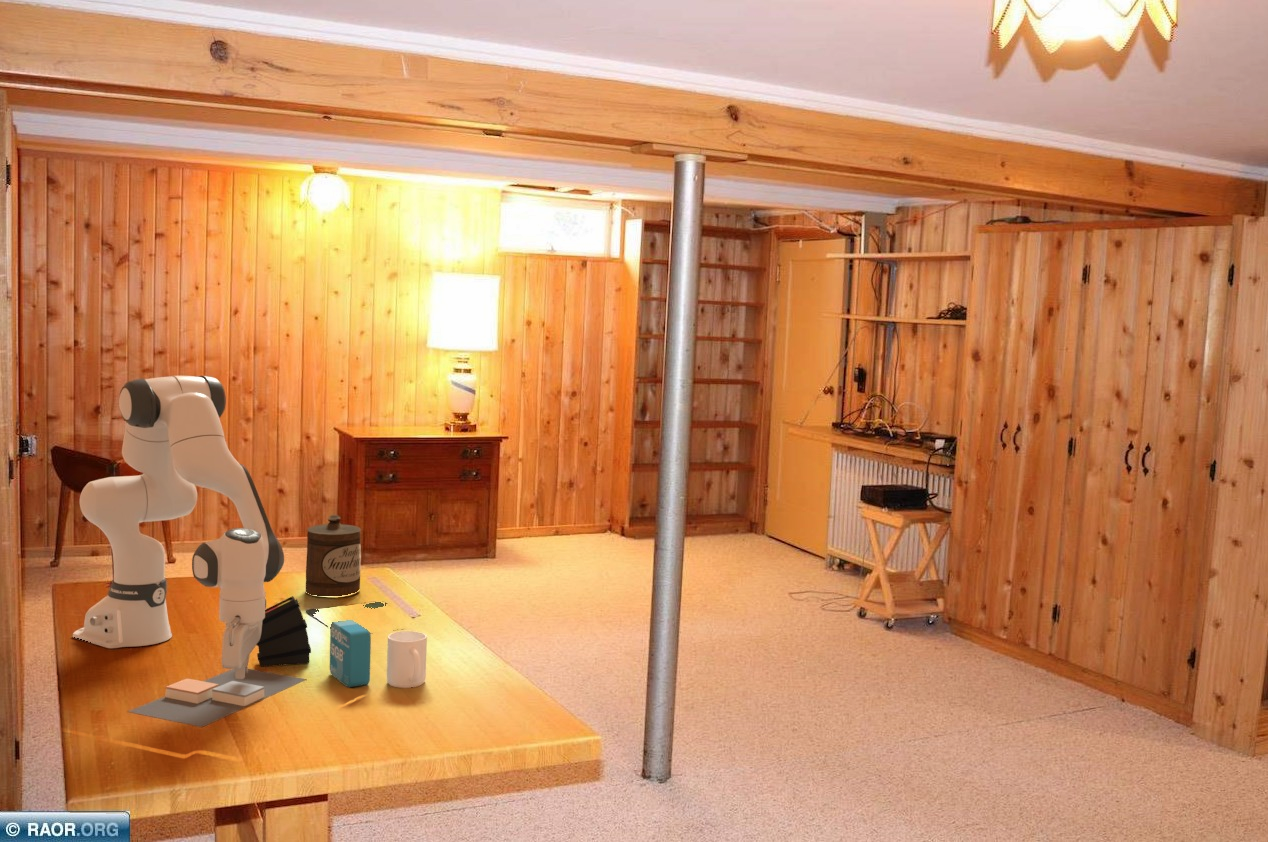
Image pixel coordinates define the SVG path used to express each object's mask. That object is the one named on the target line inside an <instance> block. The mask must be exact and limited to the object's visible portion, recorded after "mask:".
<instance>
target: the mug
mask: <svg viewBox="0 0 1268 842" xmlns="http://www.w3.org/2000/svg"><path fill="white" fill-rule="evenodd" d="M427 643H428V635H427V634H426V633H424V632H421V631H420V632H419V631H416V630H415V631H414V630H402V631H400V630H399V631H395V632H392V633H390V634H389V635H387V656H386V657H387V659H386V661H387V663H386V681H387V684H388V685H389V686H391V687H394V688H399V689H412V688H411V687H413V688H417V687H420V686H422V685H423V684H424V683H425V681H426V676H427Z"/></svg>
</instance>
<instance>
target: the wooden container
mask: <svg viewBox="0 0 1268 842" xmlns="http://www.w3.org/2000/svg"><path fill="white" fill-rule="evenodd" d="M327 520H328V523H327V524H326V523H325V524H317V525H314V526H313V525H311V526H309V527H308V528H307V534H306V536H307V537H306V539H307V540H306V541H307V543H306V544H307V545H306V562H305V563H306V564H305V565H306V566H305V593H306V592H307V593H309V594H311V595H317V596H342V595H348V594H351V593H355V592H357V591H358V590H359V589H360V590H361V563H362V562H361V560H362V559H361V555H362V554H361V549H362V548H361V547H362V546H361V541H362V540H361V539H362V536H361V535H362V533H361V532H362V529H361V528H360V527H359V526H357V525H351V524H341V516H339V515H338V514H331V515H330V516H329V517H328V518H327ZM307 593H306V594H307Z"/></svg>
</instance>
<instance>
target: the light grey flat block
mask: <svg viewBox="0 0 1268 842" xmlns="http://www.w3.org/2000/svg"><path fill="white" fill-rule="evenodd" d="M262 698H264V687H263V686H257V685H252V684H247V683H241V682H236V681H231V682H228V683H226V684H224V685H221V686H219V687H216V688H214V689H212V700H215V701H220V702H225V703H231V704H236V705H241V706H246V705H248V704H251V703H253V702H255V701H257V700H259V699H262Z"/></svg>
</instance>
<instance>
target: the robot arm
mask: <svg viewBox="0 0 1268 842" xmlns="http://www.w3.org/2000/svg"><path fill="white" fill-rule="evenodd" d="M118 399H119V400H118V405H119V406H118V407H119V412H120V415H121V418H122V419H123V421H125V429H124V436H123V440H122V441H123V442H122V447H121V454H122V458H123V460H124V462H125V463H126V464H127V465H128V466H129V467H131V468H132V469H134V470H135V471H137V472H140V473H142V474H139V475H123V476H108V477H104V478H98V479H95V480H92V481H89V482H88V483H86V485H85V486H84V487H83V488H82V491H81V493H80V496H79V508H80V511H81V513H82V515H83V517H84V518H85V519H86V520H87V521H89V522H90V523H91V524H93V525H95V526H96V527H98V529H100V530H101V531H102V532H103V534H104V535H105V537H106V538H107V541H108V542H109V545H110V546H111V552H112V561H113V579H112V581H109V582H104V585H105V586H104V587H103V588H104V589H108V588H109V589H108V591H107V594H106V596H105V597H103V598H101V599H100V601H98V602H97V603H95V604H94V605H93V606H91V607H90V608H88V610H87V611H86V613H85V615H84V616H85V617H84V620H83V621H84V623H83V627H81V628H79V629H77V630H75V631H74V632H73V633H72V638H74V637H75V638H74V639H77V638H79V639H78V640H80V639H82V640H81V641H83V640H85V641H84V642H86V641H88V642H87V643H90V642H91V643H90V644H92V645H93V644H94V645H97V646H98V647H99V646H100V647H103V648H106V649H119V648H126V647H127V648H128V647H142V646H143V647H144V646H150V645H156V644H159V643H163V642H166V641H168V640H170V639H172V637H173V634H172V630H171V625H170V622H169V616H168V608H167V600H166V597H167V592H168V590H167V589H168V579H167V578H166V577H165V575H166V571H165V569H166V567H165V565H166V555H165V554H166V550H165V547H164V546H163V544H162V543H161V542H160V541H159V540H157V539H155V537H151V536H149V535H146V534H143V533H141V531H140V524H142V523H143V522H144V523H146V522H148V523H149V522H160V521H171V520H174V519H179V518H182V517H185V516H189V515H190V514H191V513H192V512H193V511H194V509H195V507H196V505H197V502H198V491H197V487H199V488H203V489H208V490H212V491H215V492H216V493H219V494H222V495H223V496H225V497H227V498H228V499H229V500H230V501H232V503H233V505H234V506H235V508H236V511H237V514H238V516H239V520H240V521H241V524H242V528H241V527H240V528H239V527H238V528H232V529H231V528H230V529H228V530H226V531H225V532H224V533H223V534H222V536H221V537H219V538H217V539H213V540H209V541H205V542H202V543H201V544H199V546H198V547H197V548H196V550H195V551H194V553H193V555H192V559H191V570H192V575H193V577H194V579H195V580H197V582H198V583H200V584H201V585H203V586H204V587H207V588H208V587H209V588H219V589H220V592H219V598H218V601H219V602H218V620H219V621H220V622H222V623H225V629H224V630H223V635H222V644H221V645H222V646H221V648H222V649H221V666H222V668H223V669H224V670H225V669H226V670H227V669H228V670H232V669H235V677H236V679H243V678H244V677H245V676H246V674H247V670H248V669H249V668H248V666H249V661H250V655H251V653H253V650H254V649H255V647H256V646H257V643H258V642H259V640H260V637H261V631H262V621H263V619H264V618H265V609H267V599H266V591H265V587H264V583H269V582H271V581H273V580H274V579H275V578H276V577H277V576H278V575H279V573H280V571H281V570H282V568H283V566H284V563H285V554H284V553H285V552H284V550H283V548H282V546H281V543H280V541H279V539H278V537H277V536H276V534H275V533H274V530H273V528H272V526H271V524H270V521H269V518H268V516H267V514H266V511H265V508H264V505H263V503H262V501H261V497H260V495H259V493H258V491H257V488H256V486H255V483H254V481H253V478H252V476H251V474H250V472H249V470H248V468H247V467H246V466H245V465H243V464H242V463H239V462H238V461H237V459H236V458H235V457H234V456H233V454H232V452H231V450H229V447H228V444H227V442H226V438H225V432H224V429H223V426H222V422H221V419H220V418H221V417H222V416H223V414H224V412H225V409H226V404H227V400H226V399H227V398H226V391H225V388H224V386H223V383H222V382H220V381H219V380H218V378H215V377H213V376H207V375H199V376H193V375H171V376H161V377H160V376H159V377H152V378H146V379H145V378H137V379H133V380H129V381H127V382H126V383H124V385H123V386H122V388H121V389H120V392H119V397H118Z"/></svg>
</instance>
